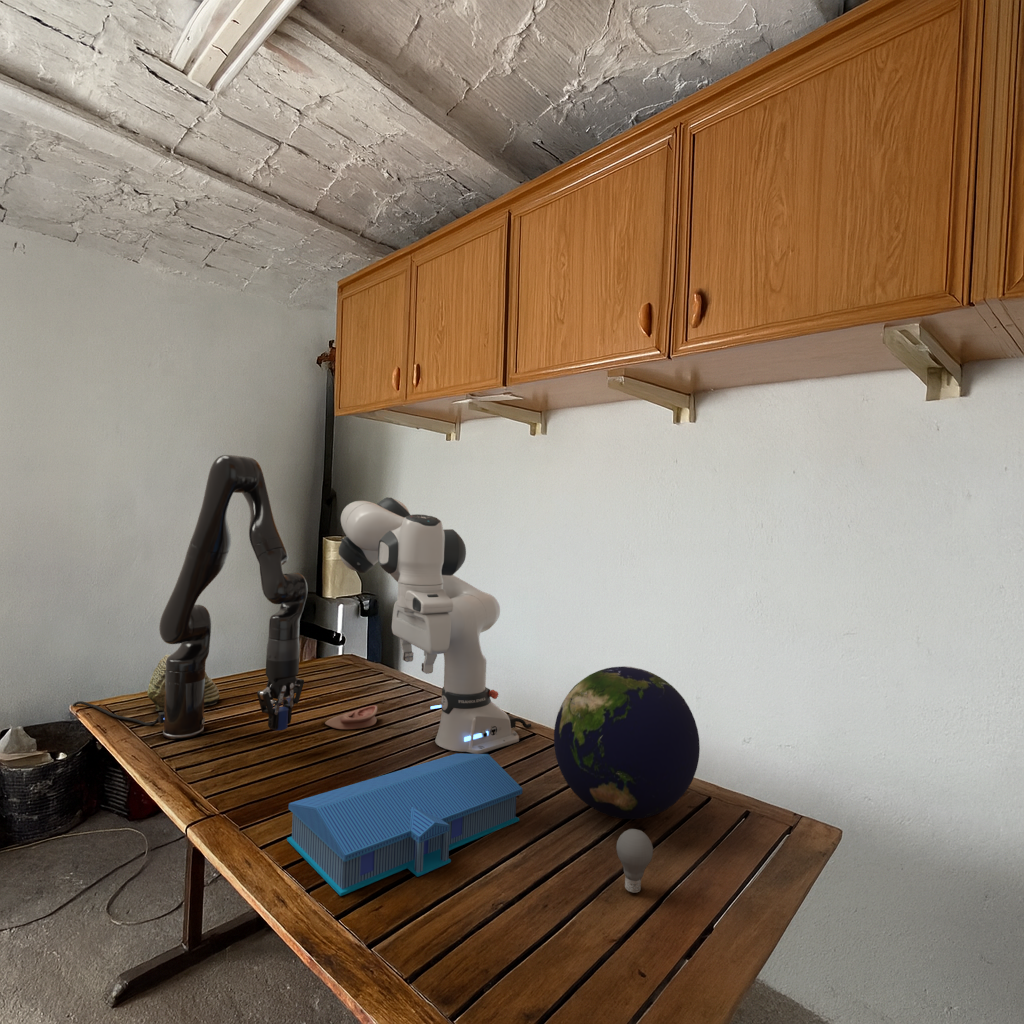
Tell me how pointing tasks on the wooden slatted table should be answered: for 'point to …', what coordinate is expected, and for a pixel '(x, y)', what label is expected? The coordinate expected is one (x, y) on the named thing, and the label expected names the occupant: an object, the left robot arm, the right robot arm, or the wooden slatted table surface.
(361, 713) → the anatomical model
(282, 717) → the canister
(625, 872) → the light bulb
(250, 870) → the wooden slatted table surface
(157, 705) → the fossil
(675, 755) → the globe
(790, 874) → the wooden slatted table surface
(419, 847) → the model building
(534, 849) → the wooden slatted table surface
